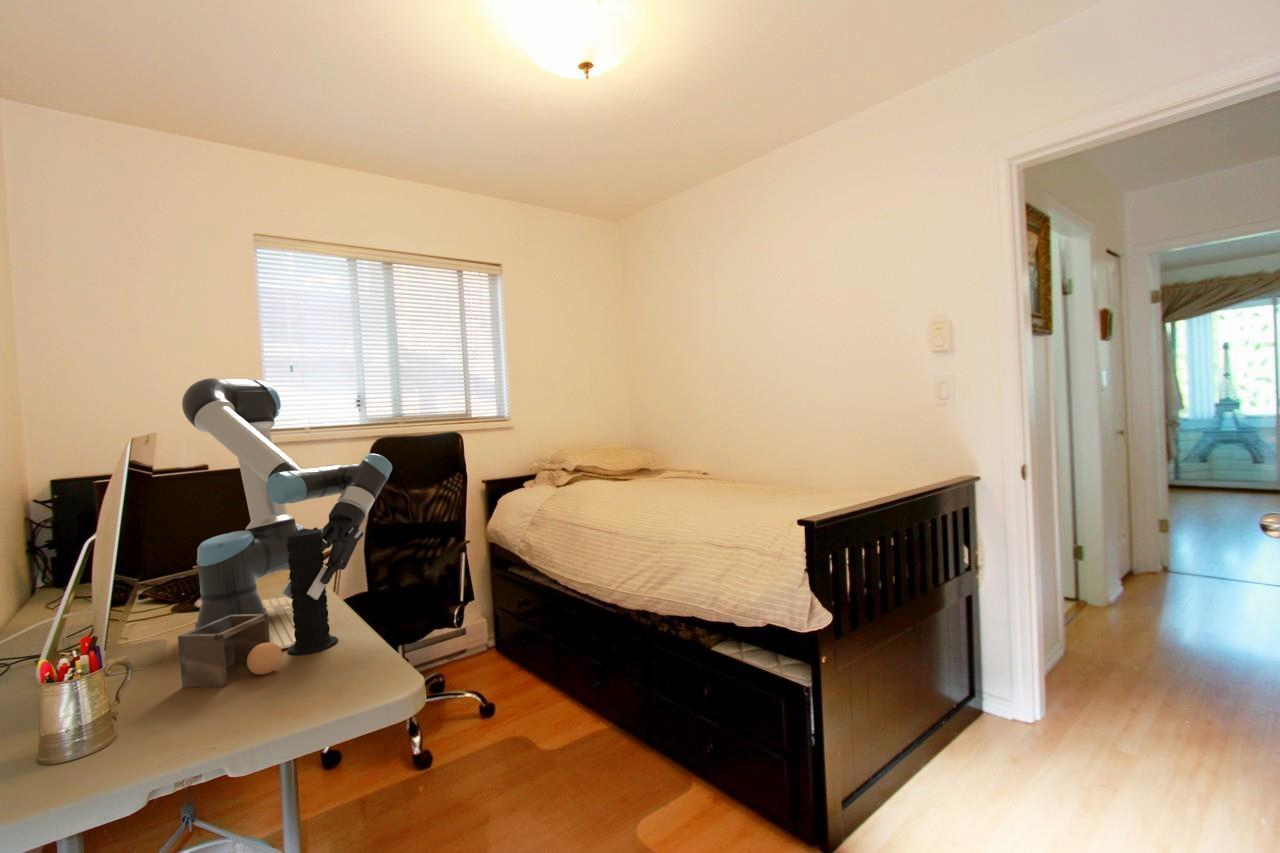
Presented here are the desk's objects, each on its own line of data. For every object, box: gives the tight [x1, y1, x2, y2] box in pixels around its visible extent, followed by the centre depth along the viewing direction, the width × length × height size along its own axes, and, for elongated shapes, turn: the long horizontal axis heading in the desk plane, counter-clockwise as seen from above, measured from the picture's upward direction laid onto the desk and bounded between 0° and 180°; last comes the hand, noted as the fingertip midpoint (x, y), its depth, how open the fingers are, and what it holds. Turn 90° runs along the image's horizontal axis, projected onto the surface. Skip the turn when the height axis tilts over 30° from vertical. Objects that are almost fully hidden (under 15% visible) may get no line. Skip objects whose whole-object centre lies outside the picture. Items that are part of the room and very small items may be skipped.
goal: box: [177, 613, 271, 688], centre depth 118 cm, size 12×9×10 cm
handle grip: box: [286, 528, 339, 656], centre depth 130 cm, size 10×26×10 cm
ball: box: [246, 642, 283, 676], centre depth 117 cm, size 6×6×6 cm
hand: (299, 596), depth 128 cm, fingers closed on handle grip, 7 cm apart
